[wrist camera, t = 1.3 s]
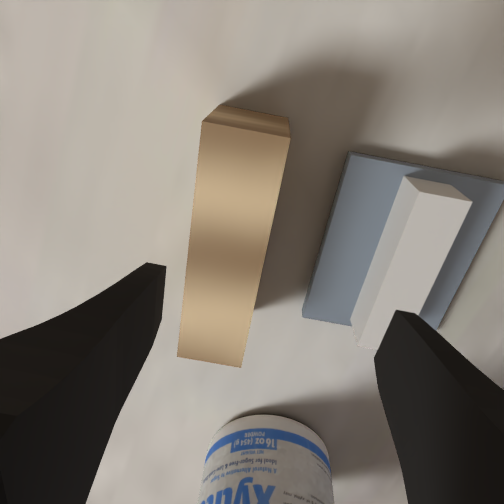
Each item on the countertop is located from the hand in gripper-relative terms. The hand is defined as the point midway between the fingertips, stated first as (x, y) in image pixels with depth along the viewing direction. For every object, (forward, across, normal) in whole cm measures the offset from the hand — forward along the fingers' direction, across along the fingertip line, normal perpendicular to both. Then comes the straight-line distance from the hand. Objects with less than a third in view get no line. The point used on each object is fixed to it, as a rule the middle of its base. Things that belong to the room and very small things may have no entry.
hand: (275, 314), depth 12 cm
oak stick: (+10, +2, +2) cm, 11 cm away
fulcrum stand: (+10, -7, +2) cm, 12 cm away
